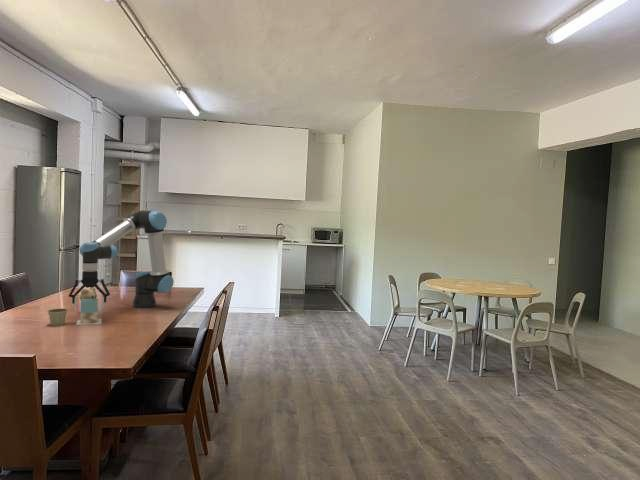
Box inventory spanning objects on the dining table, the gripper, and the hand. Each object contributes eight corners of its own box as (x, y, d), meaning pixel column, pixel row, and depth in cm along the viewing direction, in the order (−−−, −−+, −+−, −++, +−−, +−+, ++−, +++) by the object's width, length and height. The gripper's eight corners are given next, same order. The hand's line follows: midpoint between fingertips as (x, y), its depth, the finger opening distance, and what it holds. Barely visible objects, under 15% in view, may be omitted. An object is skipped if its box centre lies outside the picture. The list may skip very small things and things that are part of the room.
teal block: (97, 309, 250) (97, 298, 250) (97, 312, 243) (97, 301, 243) (81, 309, 247) (81, 299, 247) (80, 312, 240) (80, 301, 240)
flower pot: (46, 329, 231) (46, 312, 231) (47, 324, 239) (48, 309, 239) (67, 327, 235) (67, 311, 235) (67, 323, 244) (68, 308, 243)
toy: (88, 314, 267) (88, 289, 266) (76, 313, 269) (76, 288, 268) (99, 311, 277) (100, 287, 276) (87, 310, 278) (88, 286, 278)
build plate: (101, 320, 253) (101, 318, 253) (100, 325, 243) (101, 323, 243) (77, 321, 248) (77, 320, 248) (76, 326, 238) (76, 324, 238)
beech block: (97, 319, 251) (97, 309, 250) (97, 322, 244) (97, 312, 243) (81, 320, 247) (81, 309, 247) (80, 323, 240) (80, 312, 240)
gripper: (115, 269, 253) (114, 306, 254) (64, 270, 242) (64, 308, 243) (115, 271, 246) (114, 309, 247) (63, 271, 236) (62, 311, 236)
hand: (89, 308), depth 245 cm, fingers open, 13 cm apart
